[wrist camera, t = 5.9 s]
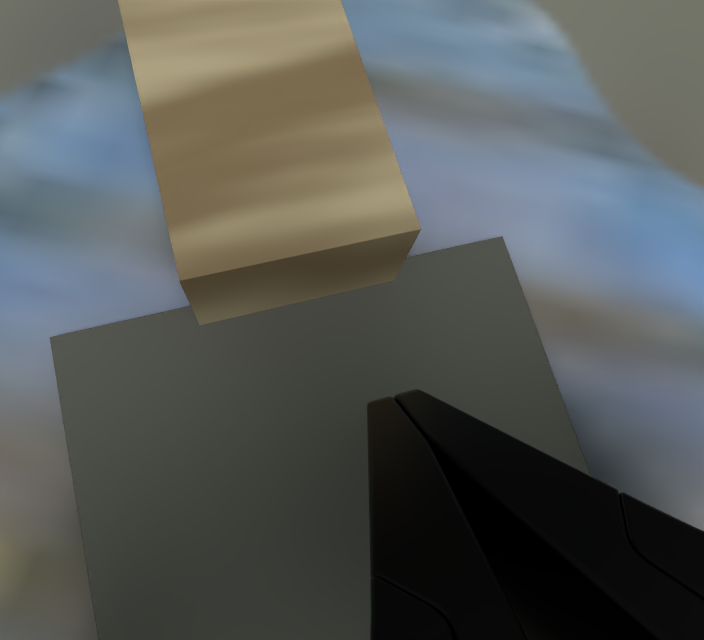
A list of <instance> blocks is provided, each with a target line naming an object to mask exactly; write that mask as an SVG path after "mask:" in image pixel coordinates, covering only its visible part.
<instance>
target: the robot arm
mask: <svg viewBox="0 0 704 640" xmlns="http://www.w3.org/2000/svg"><path fill="white" fill-rule="evenodd" d="M367 441H368V490H369V539H370V577H371V580H370V604H371V612H370V640H704V531H702V530H700V529H698V528H695V527H693V526H691V525H689V524H687V523H685V522H683V521H681V520H679V519H676V518H674V517H672V516H670V515H668V514H666V513H664V512H662V511H660V510H658V509H656V508H654V507H652V506H650V505H648V504H646V503H644V502H642V501H640V500H638V499H636V498H634V497H632V496H630V495H628V494H626V493H620V494H619V492H618V490H617V489H616V488H614V487H612V486H610V485H608V484H606V483H604V482H602V481H600V480H598V479H596V478H594V477H592V476H590V475H588V474H586V473H584V472H582V471H580V470H578V469H576V468H574V467H572V466H570V465H568V464H566V463H564V462H562V461H560V460H558V459H556V458H554V457H552V456H550V455H548V454H547V453H545V452H543V451H541V450H539V449H537V448H535V447H533V446H531V445H529V444H527V443H525V442H523V441H521V440H519V439H517V438H515V437H513V436H511V435H509V434H507V433H505V432H503V431H501V430H499V429H497V428H495V427H493V426H491V425H489V424H487V423H485V422H483V421H481V420H479V419H478V418H476V417H474V416H472V415H470V414H468V413H466V412H464V411H462V410H460V409H458V408H456V407H454V406H452V405H450V404H448V403H446V402H444V401H442V400H440V399H438V398H436V397H434V396H432V395H430V394H428V393H426V392H424V391H422V390H420V389H414V390H410V391H406V392H403V393H399V394H396V395H395V396H394V398H393V397H385V398H381V399H377V400H374V401H370V402H369V403H368V404H367Z"/></svg>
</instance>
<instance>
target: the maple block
mask: <svg viewBox="0 0 704 640" xmlns="http://www.w3.org/2000/svg"><path fill="white" fill-rule="evenodd" d="M118 2H119V7H120V11H121V16H122V21H123V25H124V30H125V34H126V39H127V43H128V48H129V53H130V57H131V62H132V66H133V71H134V75H135V80H136V84H137V89H138V94H139V98H140V103H141V107H142V112H143V116H144V121H145V126H146V130H147V135H148V139H149V144H150V148H151V153H152V158H153V162H154V167H155V171H156V176H157V180H158V185H159V190H160V194H161V199H162V203H163V208H164V212H165V217H166V221H167V226H168V231H169V235H170V240H171V244H172V249H173V253H174V258H175V263H176V267H177V272H178V276H179V281H180V283H181V285H182V287H183V290H184V292H185V294H186V296H187V299H188V301H189V303H190V305H191V307H192V310H193V312H194V314H195V316H196V318H197V321H198V323H199V325H204V324H208V323H212V322H217V321H221V320H225V319H230V318H234V317H238V316H243V315H247V314H251V313H256V312H260V311H264V310H269V309H273V308H277V307H282V306H286V305H290V304H295V303H299V302H303V301H308V300H312V299H316V298H320V297H325V296H329V295H333V294H338V293H342V292H346V291H351V290H355V289H359V288H364V287H368V286H372V285H377V284H381V283H385V282H390V281H394V280H395V278H396V276H397V274H398V272H399V270H400V268H401V266H402V264H403V262H404V261H405V259H406V257H407V255H408V253H409V251H410V249H411V247H412V245H413V243H414V242H415V240H416V238H417V236H418V234H419V232H420V230H421V227H420V225H419V222H418V219H417V216H416V213H415V210H414V207H413V205H412V202H411V199H410V196H409V193H408V190H407V188H406V185H405V182H404V179H403V176H402V173H401V171H400V168H399V165H398V162H397V159H396V156H395V154H394V151H393V148H392V145H391V142H390V139H389V136H388V134H387V131H386V128H385V125H384V122H383V119H382V117H381V114H380V111H379V108H378V105H377V102H376V100H375V97H374V94H373V91H372V88H371V85H370V82H369V80H368V77H367V74H366V71H365V68H364V65H363V63H362V60H361V57H360V54H359V51H358V48H357V46H356V43H355V40H354V37H353V34H352V31H351V29H350V26H349V23H348V20H347V17H346V14H345V11H344V9H343V6H342V3H341V0H118Z"/></svg>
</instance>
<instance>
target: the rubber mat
mask: <svg viewBox="0 0 704 640" xmlns="http://www.w3.org/2000/svg"><path fill="white" fill-rule="evenodd" d="M50 342H51V348H52V354H53V361H54V367H55V373H56V379H57V385H58V391H59V398H60V404H61V410H62V416H63V422H64V428H65V435H66V441H67V447H68V453H69V459H70V465H71V472H72V478H73V484H74V490H75V496H76V502H77V509H78V515H79V521H80V527H81V533H82V539H83V546H84V552H85V558H86V564H87V570H88V576H89V583H90V589H91V595H92V601H93V607H94V614H95V620H96V626H97V632H98V638H99V640H370V612H371V604H370V580H371V577H370V539H369V490H368V441H367V404H368V403H369V402H370V401H374V400H377V399H381V398H385V397H393V398H394V396H395V395H396V394H399V393H403V392H406V391H410V390H414V389H420V390H422V391H424V392H426V393H428V394H430V395H432V396H434V397H436V398H438V399H440V400H442V401H444V402H446V403H448V404H450V405H452V406H454V407H456V408H458V409H460V410H462V411H464V412H466V413H468V414H470V415H472V416H474V417H476V418H478V419H479V420H481V421H483V422H485V423H487V424H489V425H491V426H493V427H495V428H497V429H499V430H501V431H503V432H505V433H507V434H509V435H511V436H513V437H515V438H517V439H519V440H521V441H523V442H525V443H527V444H529V445H531V446H533V447H535V448H537V449H539V450H541V451H543V452H545V453H547V454H548V455H550V456H552V457H554V458H556V459H558V460H560V461H562V462H564V463H566V464H568V465H570V466H572V467H574V468H576V469H578V470H580V471H582V472H584V473H586V474H588V475H590V473H589V470H588V467H587V464H586V462H585V459H584V456H583V454H582V451H581V448H580V445H579V443H578V440H577V437H576V435H575V432H574V429H573V426H572V424H571V421H570V418H569V416H568V413H567V410H566V407H565V405H564V402H563V399H562V397H561V394H560V391H559V389H558V386H557V383H556V380H555V378H554V375H553V372H552V370H551V367H550V364H549V361H548V359H547V356H546V353H545V351H544V348H543V345H542V342H541V340H540V337H539V334H538V332H537V329H536V326H535V323H534V321H533V318H532V315H531V313H530V310H529V307H528V304H527V302H526V299H525V296H524V294H523V291H522V288H521V285H520V283H519V280H518V277H517V275H516V272H515V269H514V266H513V264H512V261H511V258H510V256H509V253H508V250H507V248H506V245H505V242H504V239H503V237H502V236H501V237H497V238H492V239H488V240H483V241H479V242H475V243H470V244H466V245H461V246H457V247H452V248H448V249H443V250H439V251H434V252H430V253H425V254H421V255H416V256H412V257H407V258H406V259H405V261H404V262H403V264H402V266H401V268H400V270H399V272H398V274H397V276H396V278H395V280H394V281H390V282H385V283H381V284H377V285H372V286H368V287H364V288H359V289H355V290H351V291H346V292H342V293H338V294H333V295H329V296H325V297H320V298H316V299H312V300H308V301H303V302H299V303H295V304H290V305H286V306H282V307H277V308H273V309H269V310H264V311H260V312H256V313H251V314H247V315H243V316H238V317H234V318H230V319H225V320H221V321H217V322H212V323H208V324H204V325H199V323H198V321H197V318H196V316H195V314H194V312H193V310H192V307H191V306H188V307H183V308H179V309H175V310H170V311H166V312H161V313H157V314H152V315H148V316H143V317H139V318H134V319H130V320H125V321H121V322H116V323H112V324H107V325H103V326H98V327H94V328H89V329H85V330H80V331H76V332H72V333H67V334H63V335H58V336H54V337H50ZM590 476H591V475H590Z"/></svg>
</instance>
